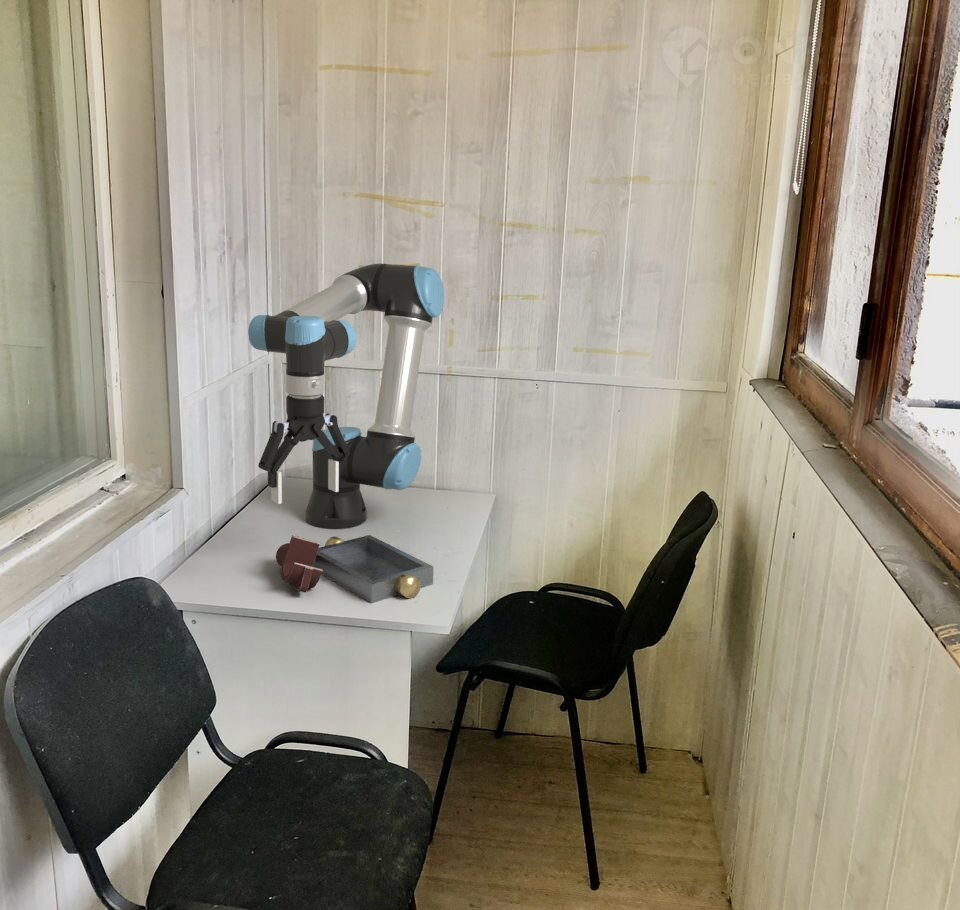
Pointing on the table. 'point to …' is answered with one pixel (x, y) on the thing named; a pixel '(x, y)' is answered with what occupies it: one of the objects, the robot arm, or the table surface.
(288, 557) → the bracket
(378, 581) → the cradle
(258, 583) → the table surface
